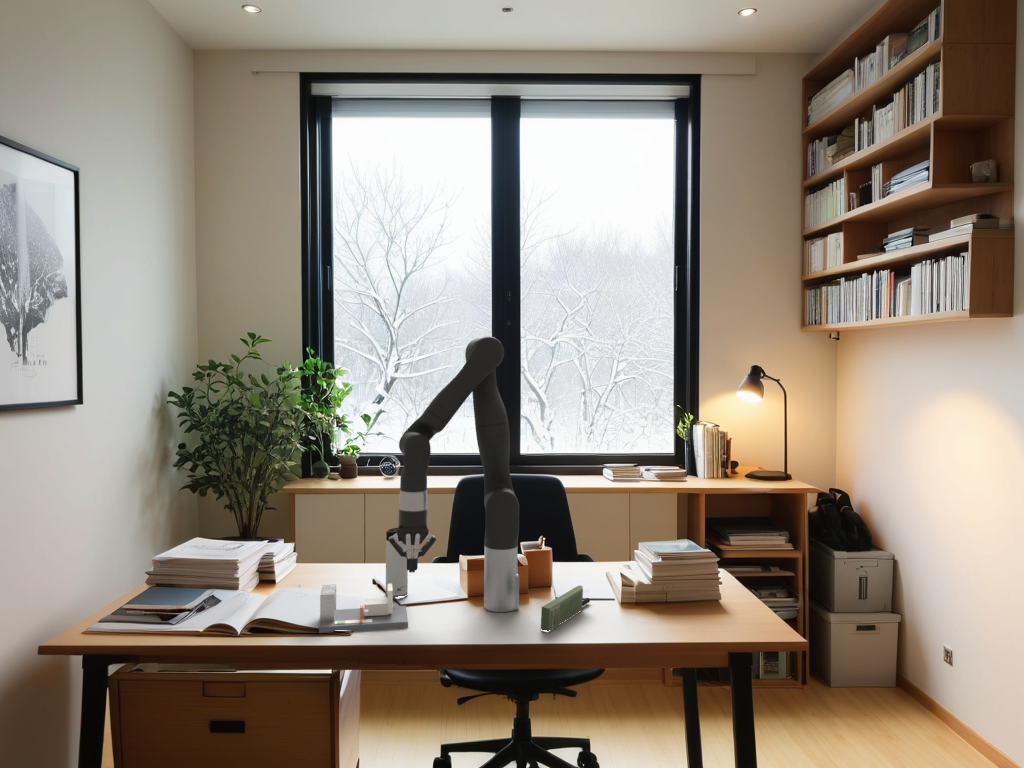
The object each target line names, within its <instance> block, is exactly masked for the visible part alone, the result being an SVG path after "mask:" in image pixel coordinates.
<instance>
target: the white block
mask: <svg viewBox="0 0 1024 768" xmlns="http://www.w3.org/2000/svg"><path fill="white" fill-rule="evenodd" d="M393 600H394V599H393V588H392V584H388V597H386V596H385V597H367V598H365V597H364V605H363V608H364V616H377V615H388V614H391V613H393V603H394V601H393Z"/></svg>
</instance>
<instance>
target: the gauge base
mask: <svg viewBox="0 0 1024 768" xmlns="http://www.w3.org/2000/svg"><path fill="white" fill-rule="evenodd" d="M406 628H407V629H408V628H409V619H408V610H407V605H398V606H397V605H396V606H393V613H391V614H388V615H377V616H364V607H363V622H362V623H360V607H359V608H343V609H342V608H341V609H336V614H335V620H334V621H330V622H320V621H319V625H318V633H319V634H323V633H324V634H325V633H326V634H327V633H328V634H329V633H334V632H333V631H335V630H351V631H350V632H359V631H374V630H375V631H377V630H391V629H406Z"/></svg>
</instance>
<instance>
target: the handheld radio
mask: <svg viewBox="0 0 1024 768" xmlns="http://www.w3.org/2000/svg"><path fill="white" fill-rule="evenodd" d="M583 588H584V586H583V585H577V586H575V587H573V588H572V589H570V590H569V591H567V592H565V593H564V594H562V595H559V597H556V598H555V599H552V600H551V601H550V602H547V603H545V604H544V605H543V606H541V614H540V615H541V616H540V617H541V618H540V630H541V629H542V630H547V631H549V630H552V629H553V630H555V629H556V628H558V627H559V626H560V625H559V624H560V623H562V622H564V621H565V620H567V619H569V618H570V617H572V616H573V615H575V614H576V613H578V612H579V611H581V610H582V611H583V607H584V606H585V605H588V604H589V603H590V602H591V600H590V598H589V597H587V598H585V599H583V598H584V597H583V594H584V589H583ZM582 611H581V612H582ZM579 613H580V612H579ZM579 613H578V614H579ZM576 615H577V614H576ZM576 615H575V616H576ZM573 617H574V616H573ZM573 617H572V618H573ZM570 619H571V618H570ZM570 619H569V620H570ZM567 621H568V620H567ZM564 623H565V622H564ZM558 625H559V626H558ZM557 626H558V627H557ZM555 627H556V628H555ZM554 628H555V629H554ZM553 630H552V631H553Z"/></svg>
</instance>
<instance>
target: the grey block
mask: <svg viewBox="0 0 1024 768" xmlns="http://www.w3.org/2000/svg"><path fill="white" fill-rule="evenodd" d="M319 596H320V597H319V598H320V599H319V601H320V602H319V605H320V606H319V608H320V609H319V612H320V613H319V614H320V615H319V623H320V622H330V621H334V620H335V614H336V610H337V584H323V585H322V586H321V590H320V595H319Z"/></svg>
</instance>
